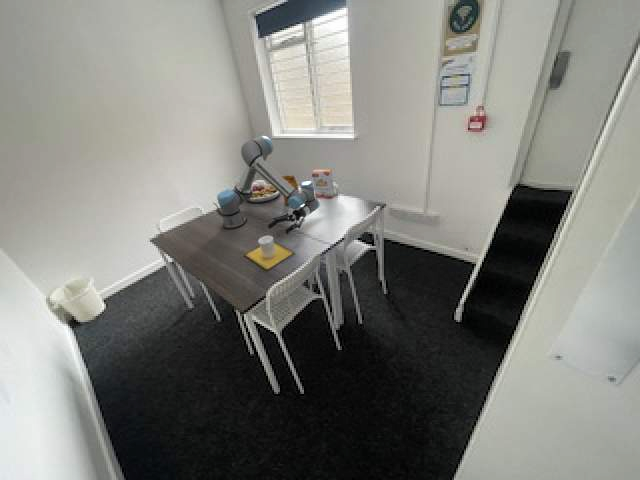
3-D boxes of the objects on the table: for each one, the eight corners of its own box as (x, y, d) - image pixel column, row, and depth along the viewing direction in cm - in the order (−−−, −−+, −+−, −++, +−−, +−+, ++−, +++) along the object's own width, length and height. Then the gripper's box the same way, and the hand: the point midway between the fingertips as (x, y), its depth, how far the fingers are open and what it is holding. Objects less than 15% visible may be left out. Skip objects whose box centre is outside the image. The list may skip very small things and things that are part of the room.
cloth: (245, 255, 148) (245, 255, 148) (270, 241, 158) (270, 240, 158) (266, 270, 134) (266, 269, 134) (293, 253, 144) (293, 252, 143)
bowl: (288, 193, 222) (286, 184, 217) (260, 206, 205) (257, 197, 201) (267, 187, 241) (265, 179, 236) (240, 199, 224) (237, 191, 220)
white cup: (270, 260, 140) (266, 244, 135) (260, 256, 144) (255, 241, 139) (279, 252, 146) (275, 237, 141) (269, 249, 150) (265, 234, 145)
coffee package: (297, 205, 197) (292, 177, 185) (283, 205, 201) (277, 178, 190) (303, 200, 204) (298, 173, 193) (288, 200, 209) (283, 173, 197)
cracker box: (315, 197, 205) (311, 171, 194) (318, 194, 210) (314, 169, 199) (331, 198, 200) (328, 171, 189) (334, 195, 205) (331, 169, 193)
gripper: (318, 222, 154) (295, 239, 141) (287, 214, 168) (263, 230, 154) (316, 210, 150) (292, 227, 137) (284, 204, 164) (260, 219, 150)
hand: (277, 229), depth 145 cm, fingers open, 13 cm apart
